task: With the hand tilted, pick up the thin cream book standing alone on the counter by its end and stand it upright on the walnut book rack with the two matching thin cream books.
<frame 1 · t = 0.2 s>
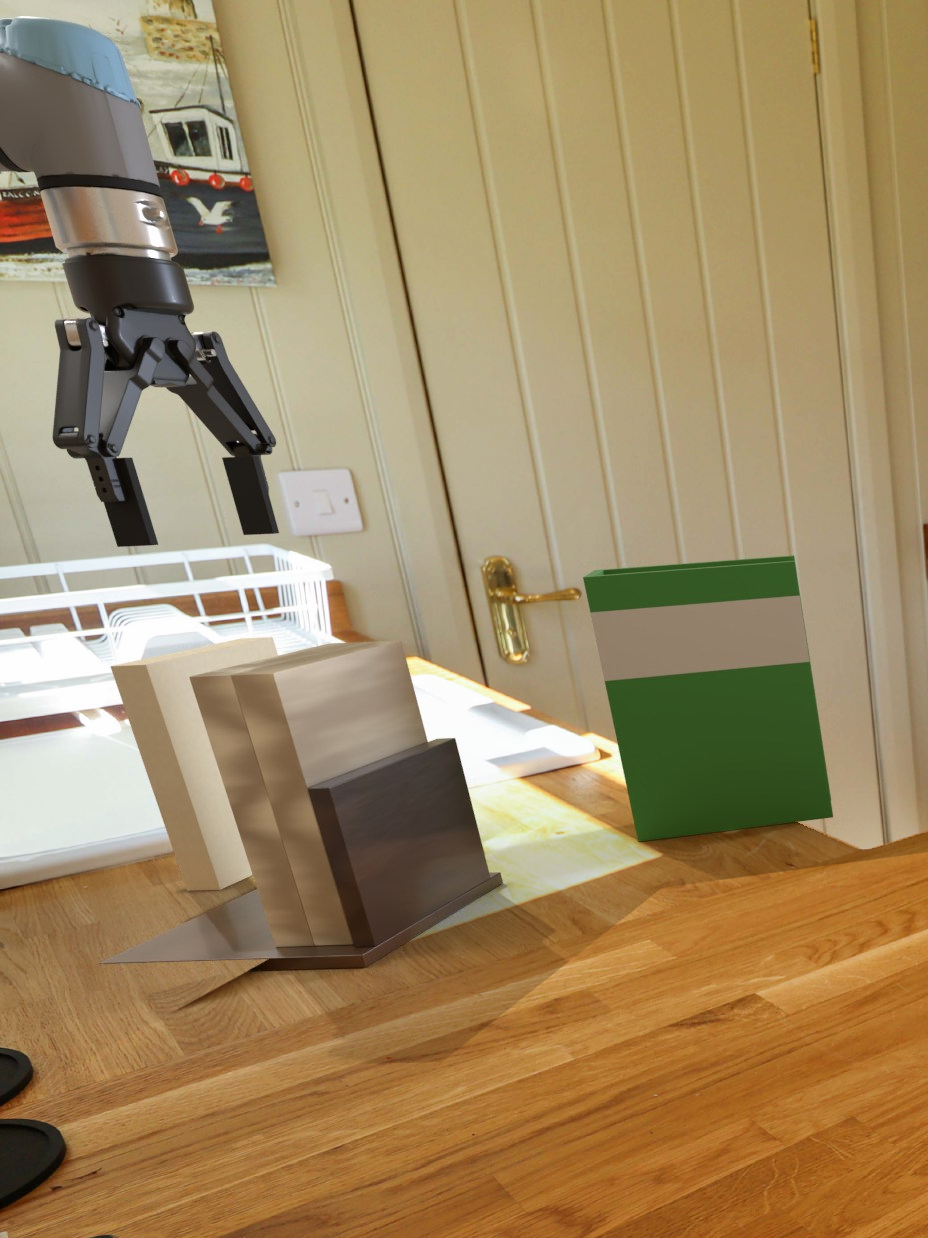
hand: (203, 540, 106), 29 cm above the breakfast bar, tool pointing down, fingers open, 13 cm apart
thin cream book: (266, 872, 114), on the breakfast bar
book rack: (318, 925, 100), on the breakfast bar
hardback book: (739, 820, 123), on the breakfast bar
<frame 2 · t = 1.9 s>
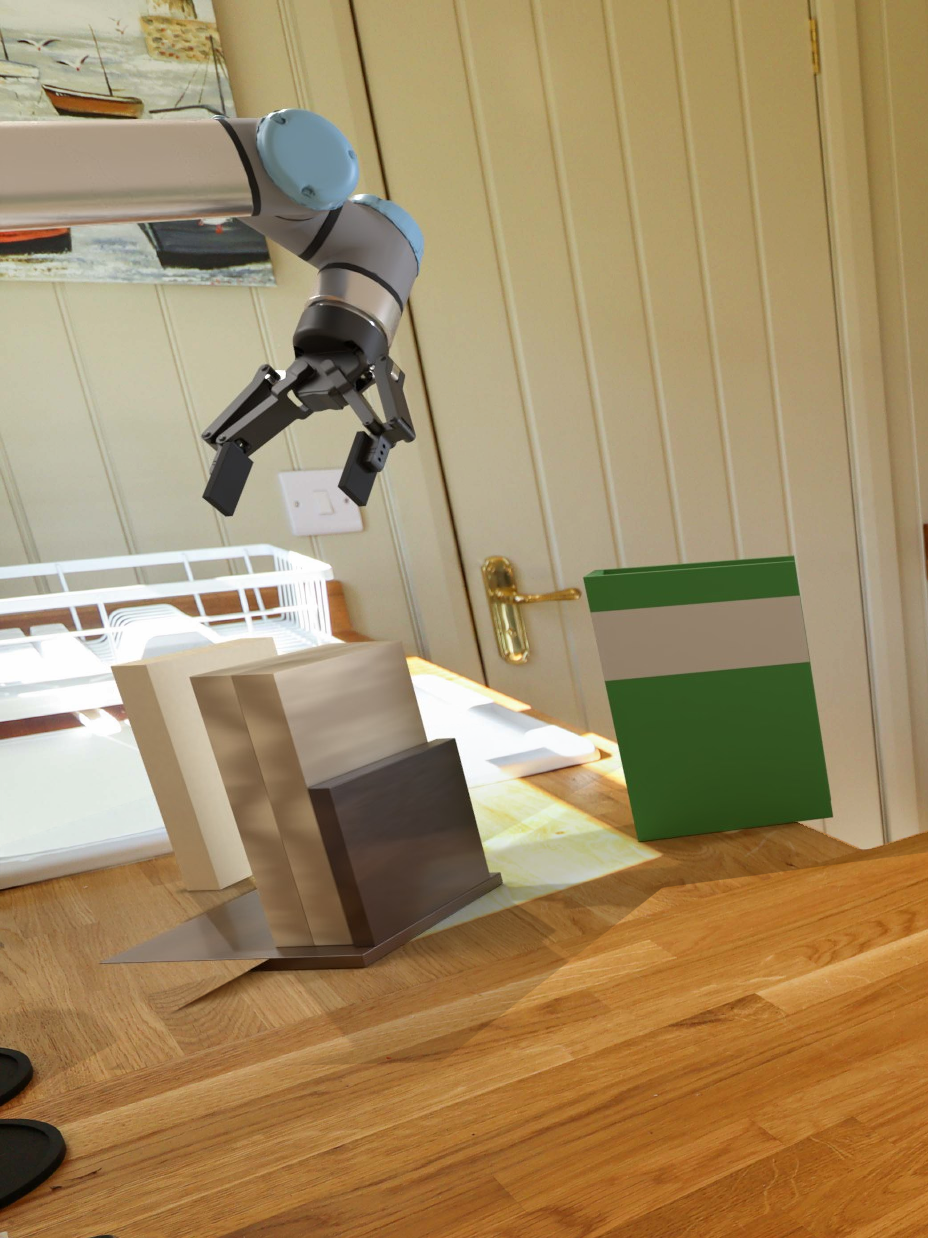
hand: (284, 502, 117), 31 cm above the breakfast bar, tool tilted 45°, fingers open, 13 cm apart
nothing on the breakfast bar moved.
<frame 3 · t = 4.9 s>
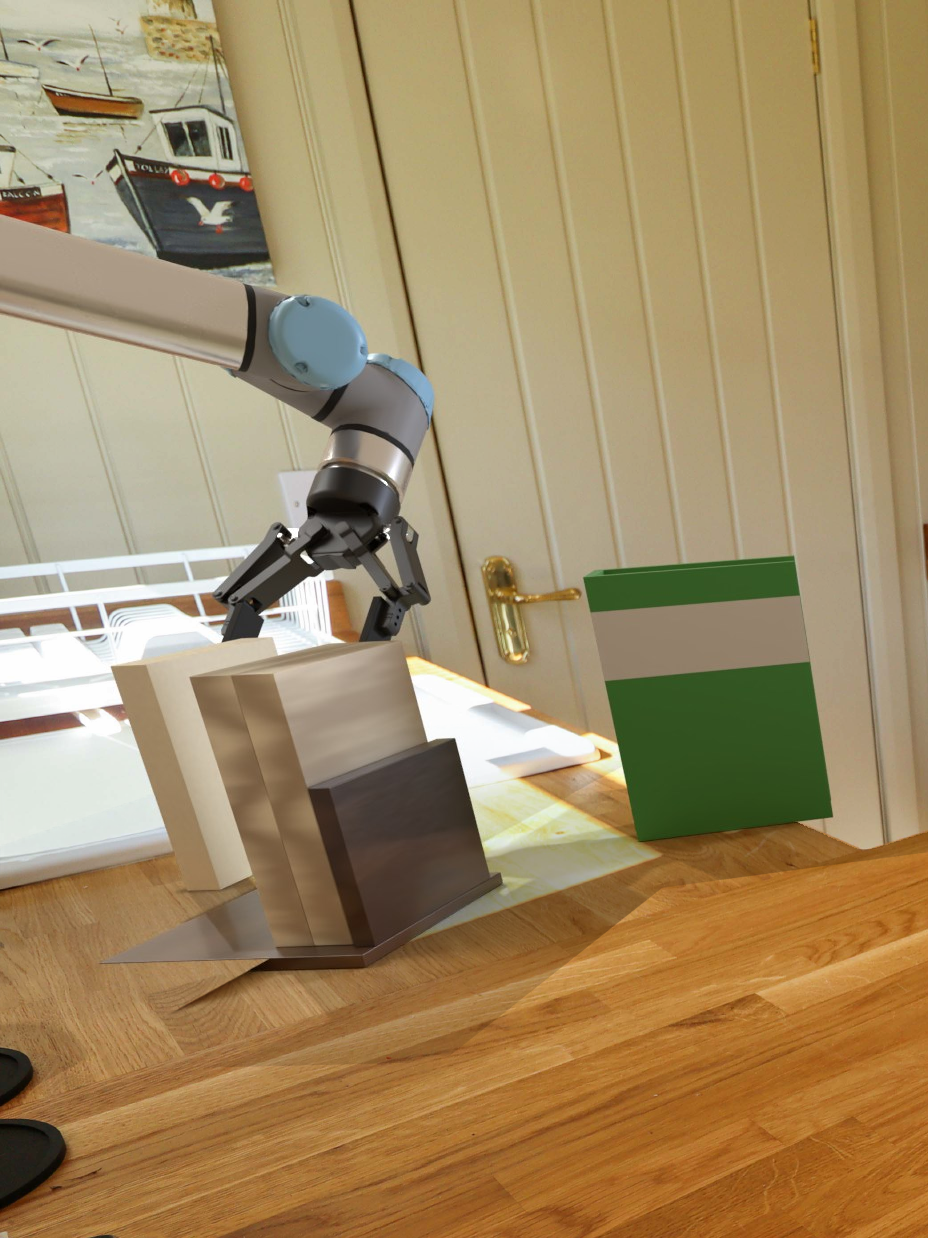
hand: (298, 665, 118), 17 cm above the breakfast bar, tool tilted 45°, fingers open, 13 cm apart
nothing on the breakfast bar moved.
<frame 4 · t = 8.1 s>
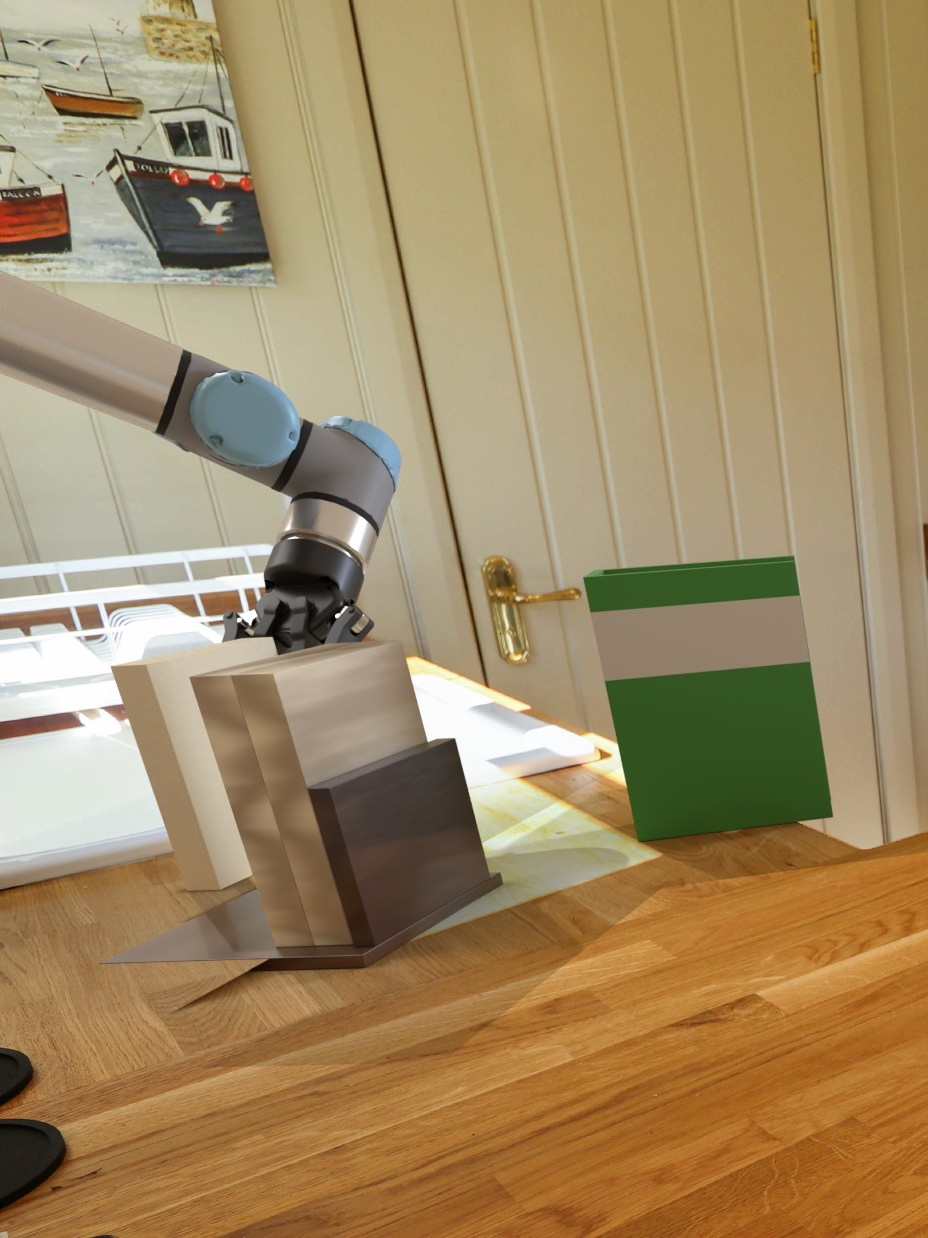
hand: (245, 771, 112), 9 cm above the breakfast bar, tool tilted 45°, fingers closed on thin cream book, 3 cm apart
thin cream book: (266, 872, 114), on the breakfast bar, touching gripper
everything else where it was.
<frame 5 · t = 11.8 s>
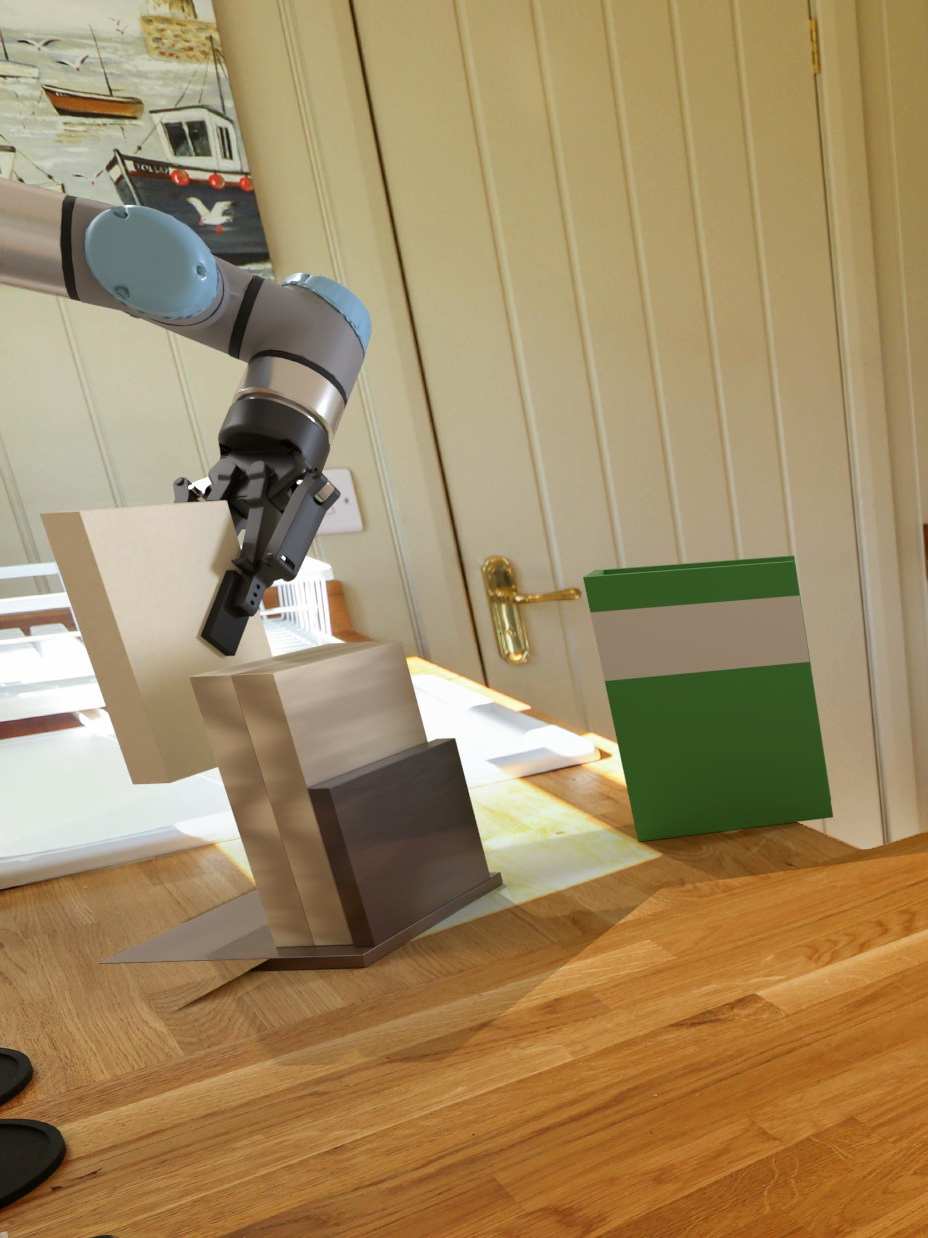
hand: (195, 646, 101), 21 cm above the breakfast bar, tool tilted 45°, fingers closed on thin cream book, 3 cm apart
thin cream book: (220, 761, 103), point 12 cm above the breakfast bar, touching gripper
everything else where it was.
when the fingers open (10 cm above the breakfast bar, at t = 15.9 s): thin cream book stays where it is, resting on book rack.
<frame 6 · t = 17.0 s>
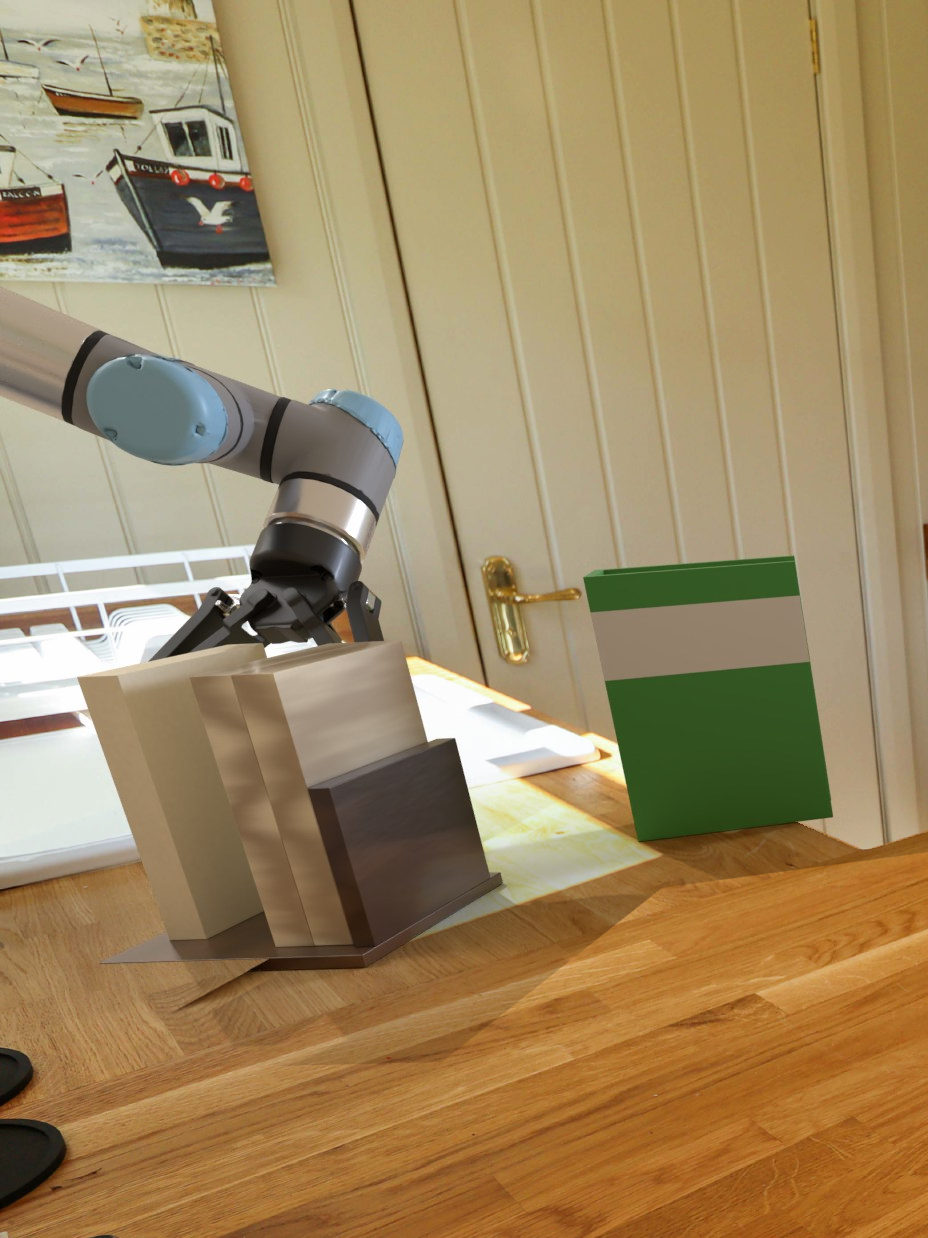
hand: (235, 760, 100), 13 cm above the breakfast bar, tool tilted 45°, fingers open, 13 cm apart
thin cream book: (256, 906, 102), point 1 cm above the breakfast bar, touching book rack
everything else where it was.
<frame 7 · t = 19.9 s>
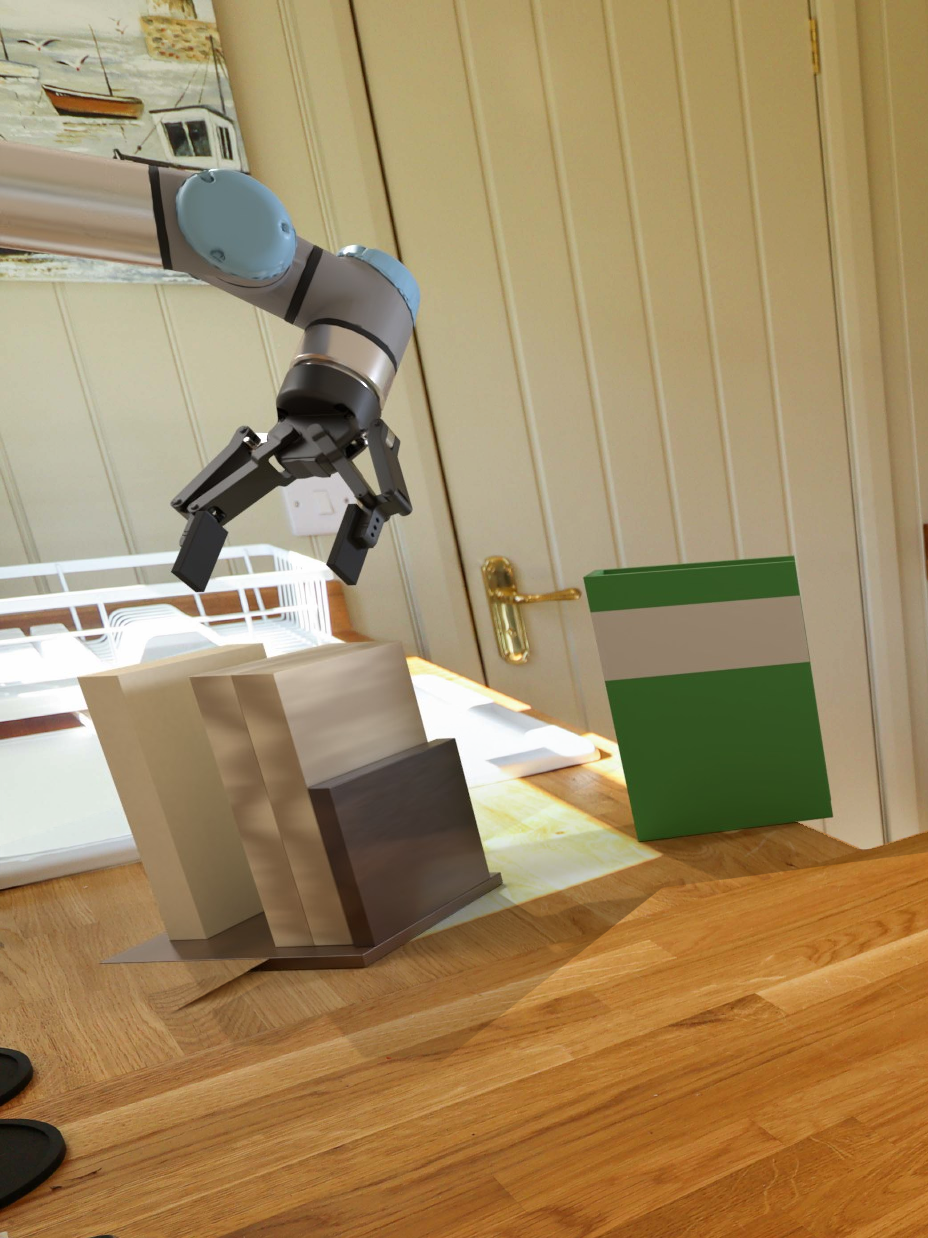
hand: (263, 579, 106), 25 cm above the breakfast bar, tool tilted 45°, fingers open, 13 cm apart
nothing on the breakfast bar moved.
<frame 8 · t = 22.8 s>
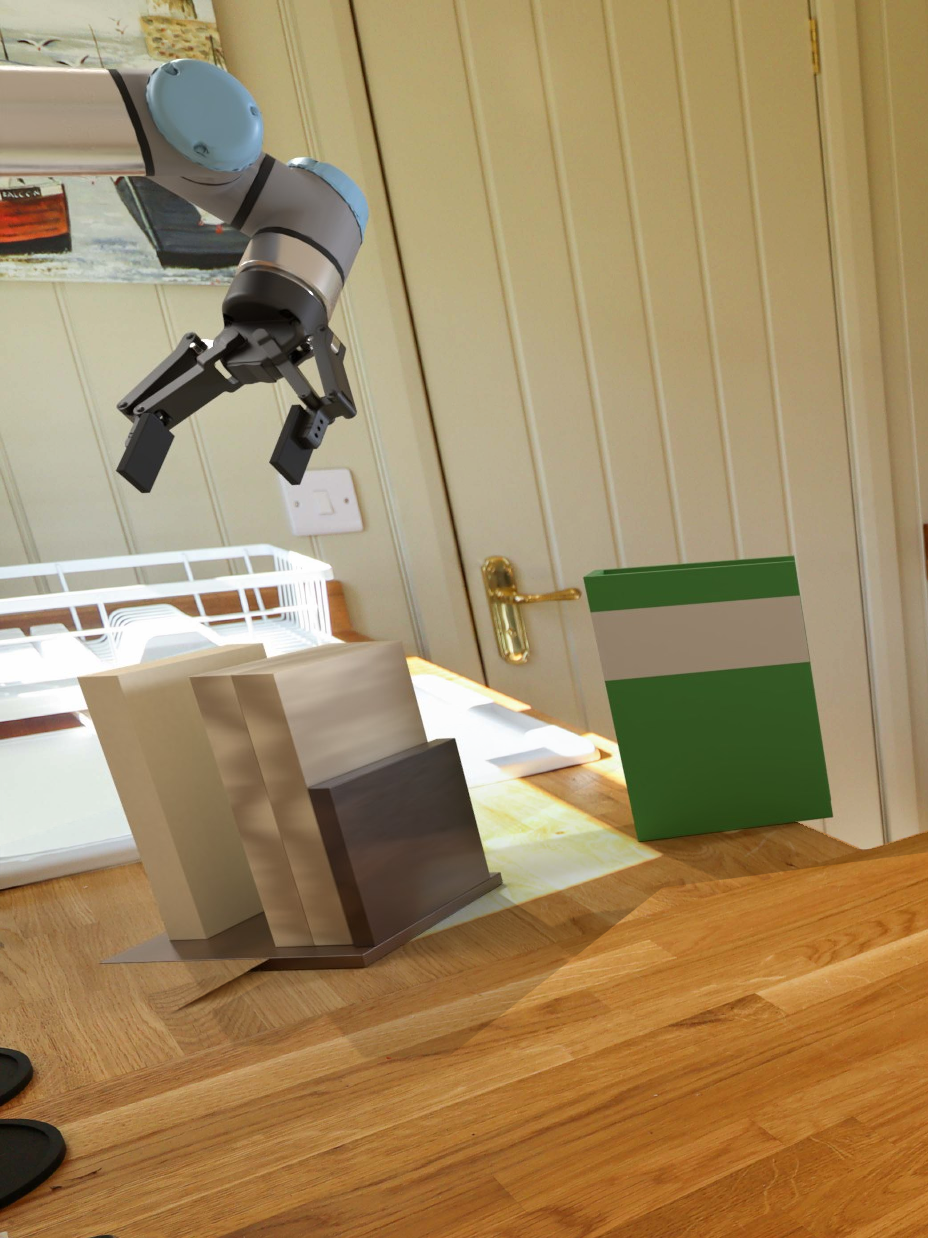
hand: (208, 478, 108), 34 cm above the breakfast bar, tool tilted 45°, fingers open, 13 cm apart
nothing on the breakfast bar moved.
at the end: thin cream book 0.1 cm from the target spot, point 1.0 cm above the breakfast bar; thin cream book tilted 0°; the gripper is holding nothing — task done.
